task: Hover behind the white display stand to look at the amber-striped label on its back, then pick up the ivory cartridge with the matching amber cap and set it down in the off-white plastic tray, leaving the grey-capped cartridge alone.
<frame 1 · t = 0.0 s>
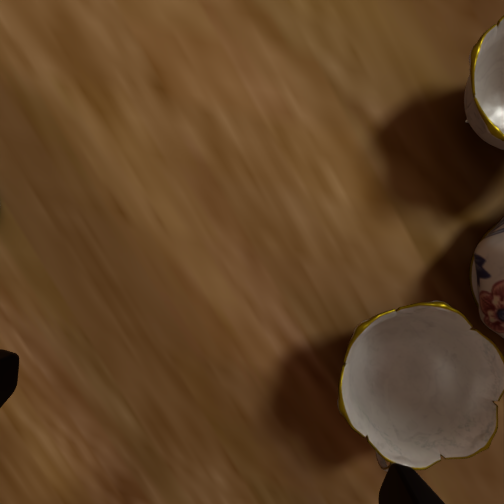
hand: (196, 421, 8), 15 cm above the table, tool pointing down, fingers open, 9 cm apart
chinaware: (488, 257, 23), on the table
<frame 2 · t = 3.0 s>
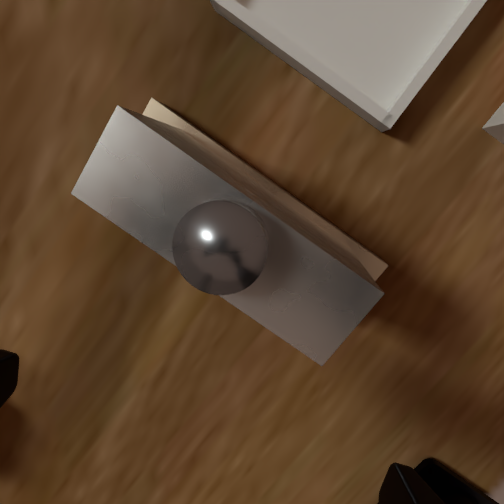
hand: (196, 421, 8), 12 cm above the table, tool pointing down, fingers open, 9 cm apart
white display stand: (252, 213, 19), on the table
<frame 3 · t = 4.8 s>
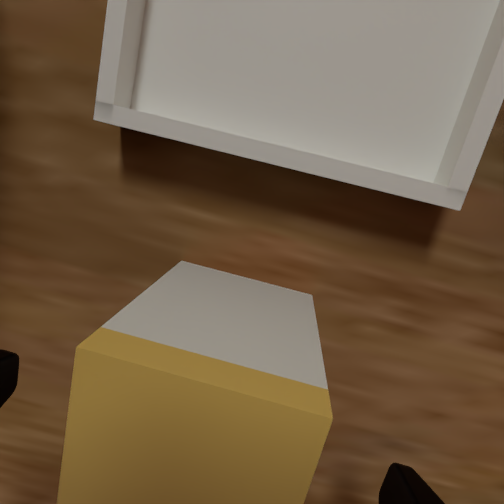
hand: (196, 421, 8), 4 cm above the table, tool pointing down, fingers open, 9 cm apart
amber cartridge: (231, 336, 12), on the table
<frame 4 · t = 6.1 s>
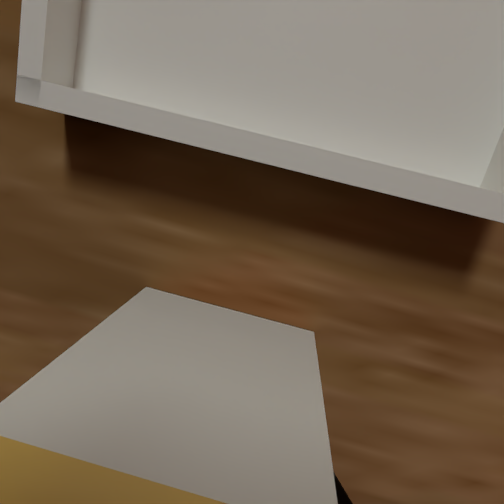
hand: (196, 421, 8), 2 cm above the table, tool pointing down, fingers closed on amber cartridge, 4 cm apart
amber cartridge: (211, 383, 10), on the table, touching gripper
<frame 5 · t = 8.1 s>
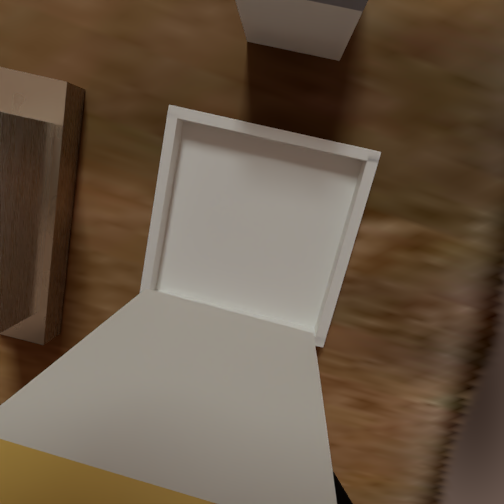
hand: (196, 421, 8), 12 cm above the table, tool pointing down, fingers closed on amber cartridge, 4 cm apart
amber cartridge: (211, 384, 10), point 10 cm above the table, touching gripper
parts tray: (252, 228, 19), on the table
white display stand: (37, 213, 20), on the table
when the fingers open (3 cm above the table, at t = 10.1 s): amber cartridge drops 1 cm, resting on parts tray.
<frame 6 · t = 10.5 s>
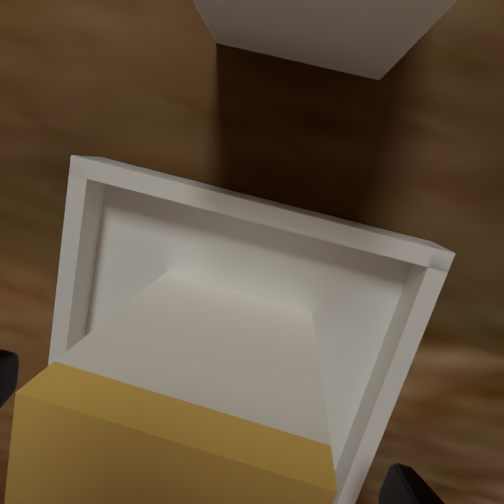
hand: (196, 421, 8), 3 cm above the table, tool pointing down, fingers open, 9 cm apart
amber cartridge: (221, 356, 11), resting on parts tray
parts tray: (225, 347, 11), on the table
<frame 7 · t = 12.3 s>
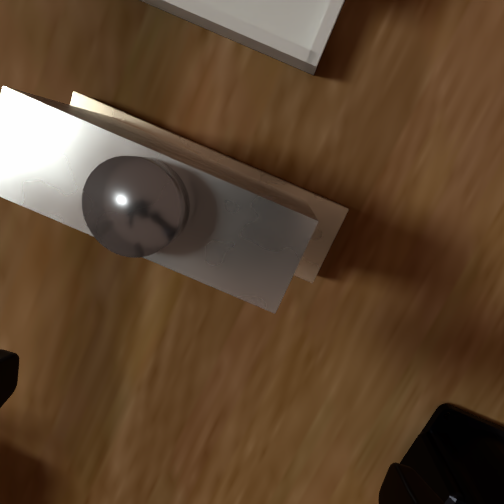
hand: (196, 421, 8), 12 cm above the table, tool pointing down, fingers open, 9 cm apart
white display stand: (204, 188, 18), on the table
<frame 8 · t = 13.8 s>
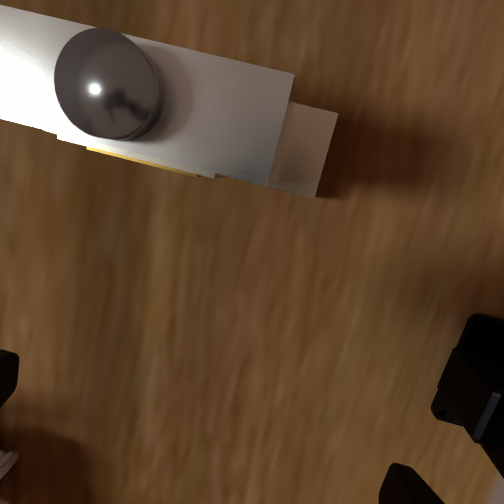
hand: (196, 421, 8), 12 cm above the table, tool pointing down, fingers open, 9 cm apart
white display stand: (192, 126, 18), on the table
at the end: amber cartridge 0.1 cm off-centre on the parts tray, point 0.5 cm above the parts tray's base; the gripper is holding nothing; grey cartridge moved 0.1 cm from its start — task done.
